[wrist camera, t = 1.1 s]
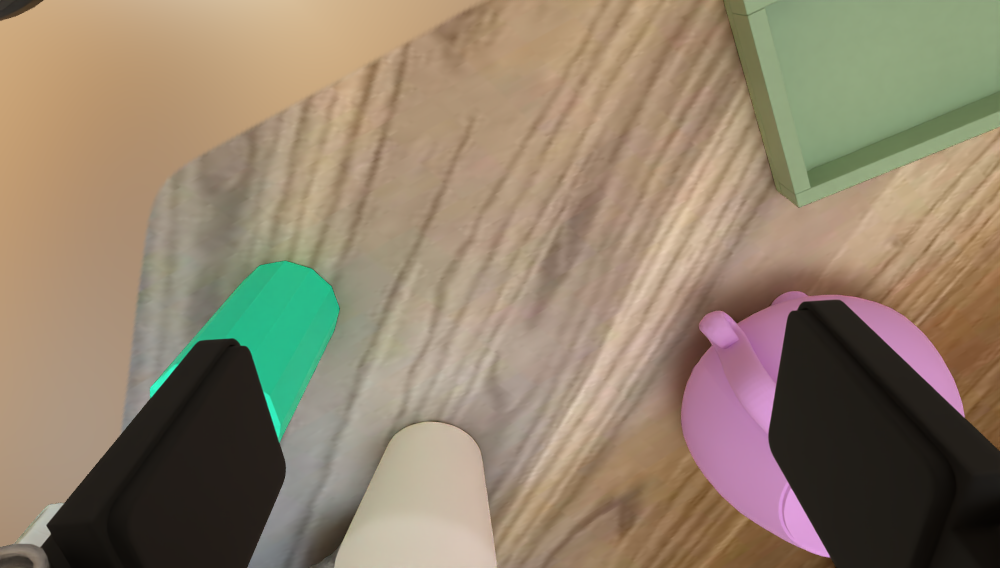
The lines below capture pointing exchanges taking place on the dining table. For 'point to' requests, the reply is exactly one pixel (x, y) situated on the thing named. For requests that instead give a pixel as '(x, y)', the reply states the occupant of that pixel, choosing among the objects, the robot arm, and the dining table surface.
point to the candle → (275, 331)
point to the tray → (865, 84)
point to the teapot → (749, 400)
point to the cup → (423, 505)
